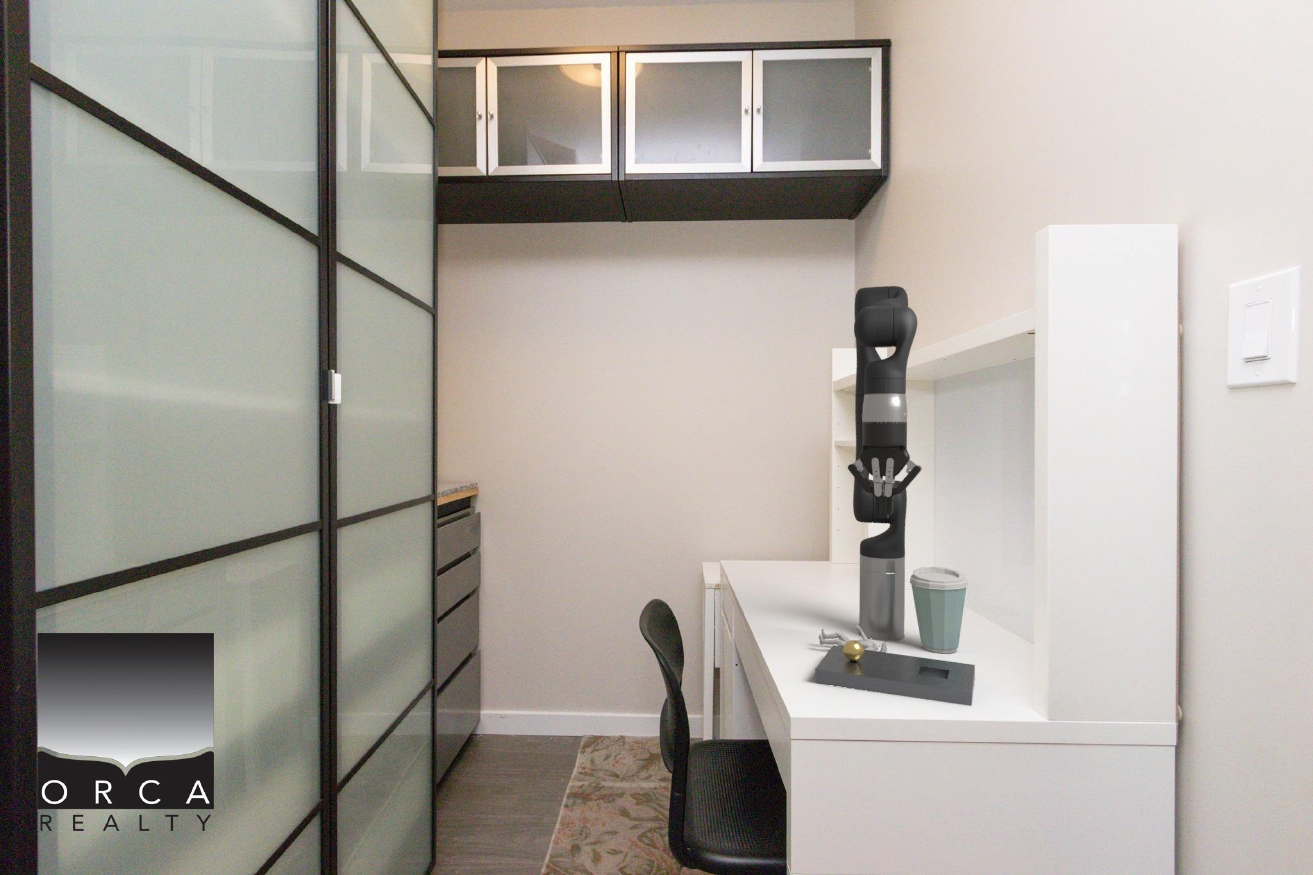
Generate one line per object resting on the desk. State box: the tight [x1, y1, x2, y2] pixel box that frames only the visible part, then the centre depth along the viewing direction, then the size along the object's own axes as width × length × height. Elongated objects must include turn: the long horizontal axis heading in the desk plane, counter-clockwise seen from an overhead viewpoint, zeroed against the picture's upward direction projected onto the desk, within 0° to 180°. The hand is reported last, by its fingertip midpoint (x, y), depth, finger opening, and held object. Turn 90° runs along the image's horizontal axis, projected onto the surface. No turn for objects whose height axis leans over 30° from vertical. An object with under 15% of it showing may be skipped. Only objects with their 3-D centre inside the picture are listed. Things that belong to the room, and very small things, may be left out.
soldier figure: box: [818, 624, 888, 653], centre depth 135 cm, size 8×5×12 cm
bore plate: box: [814, 644, 976, 707], centre depth 119 cm, size 14×24×2 cm, turn 64°
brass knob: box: [843, 639, 864, 661], centre depth 122 cm, size 4×4×4 cm
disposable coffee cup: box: [909, 566, 969, 654], centre depth 137 cm, size 11×11×15 cm
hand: (883, 517), depth 126 cm, fingers closed
